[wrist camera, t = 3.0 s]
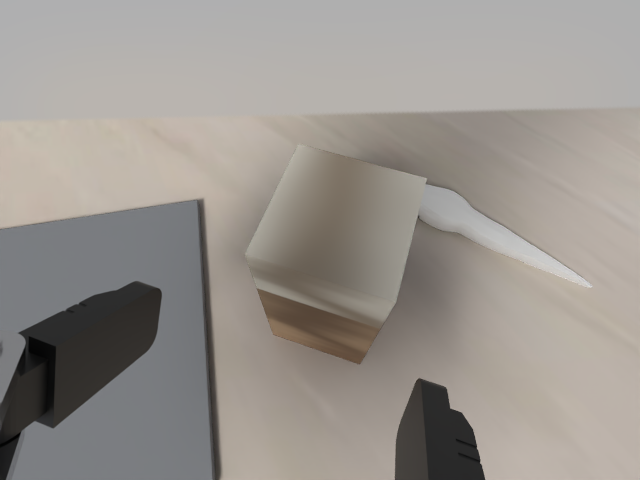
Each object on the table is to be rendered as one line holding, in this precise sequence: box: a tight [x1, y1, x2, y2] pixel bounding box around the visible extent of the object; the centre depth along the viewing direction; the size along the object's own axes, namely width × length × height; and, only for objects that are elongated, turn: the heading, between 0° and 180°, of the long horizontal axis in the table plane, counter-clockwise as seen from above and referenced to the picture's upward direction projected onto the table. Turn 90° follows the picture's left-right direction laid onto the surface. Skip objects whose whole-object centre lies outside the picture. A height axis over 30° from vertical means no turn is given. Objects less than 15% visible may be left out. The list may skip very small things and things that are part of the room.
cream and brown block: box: [245, 144, 427, 364], centre depth 17 cm, size 5×5×10 cm
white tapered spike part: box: [418, 184, 593, 287], centre depth 24 cm, size 15×3×2 cm, turn 59°
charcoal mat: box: [0, 200, 215, 480], centre depth 20 cm, size 18×16×1 cm
